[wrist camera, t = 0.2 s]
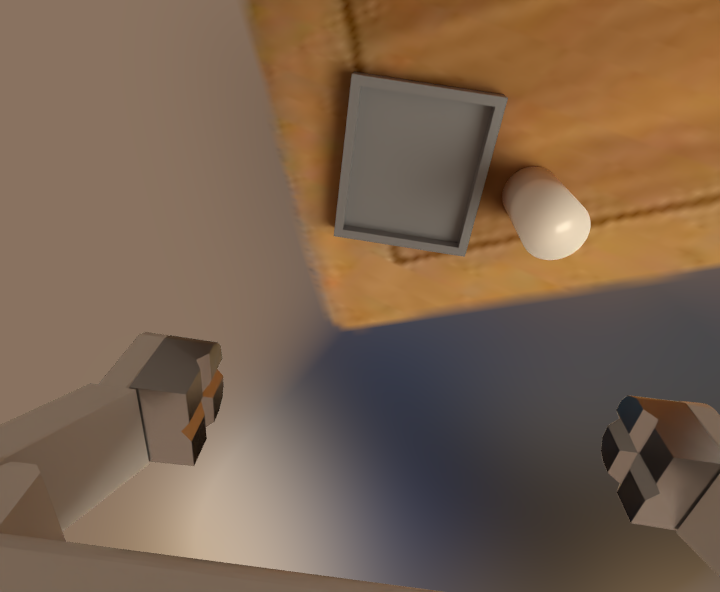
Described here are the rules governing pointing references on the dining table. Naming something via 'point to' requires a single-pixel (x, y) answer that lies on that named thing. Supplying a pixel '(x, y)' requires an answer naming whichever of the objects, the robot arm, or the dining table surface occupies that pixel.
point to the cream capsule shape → (545, 213)
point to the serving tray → (415, 162)
